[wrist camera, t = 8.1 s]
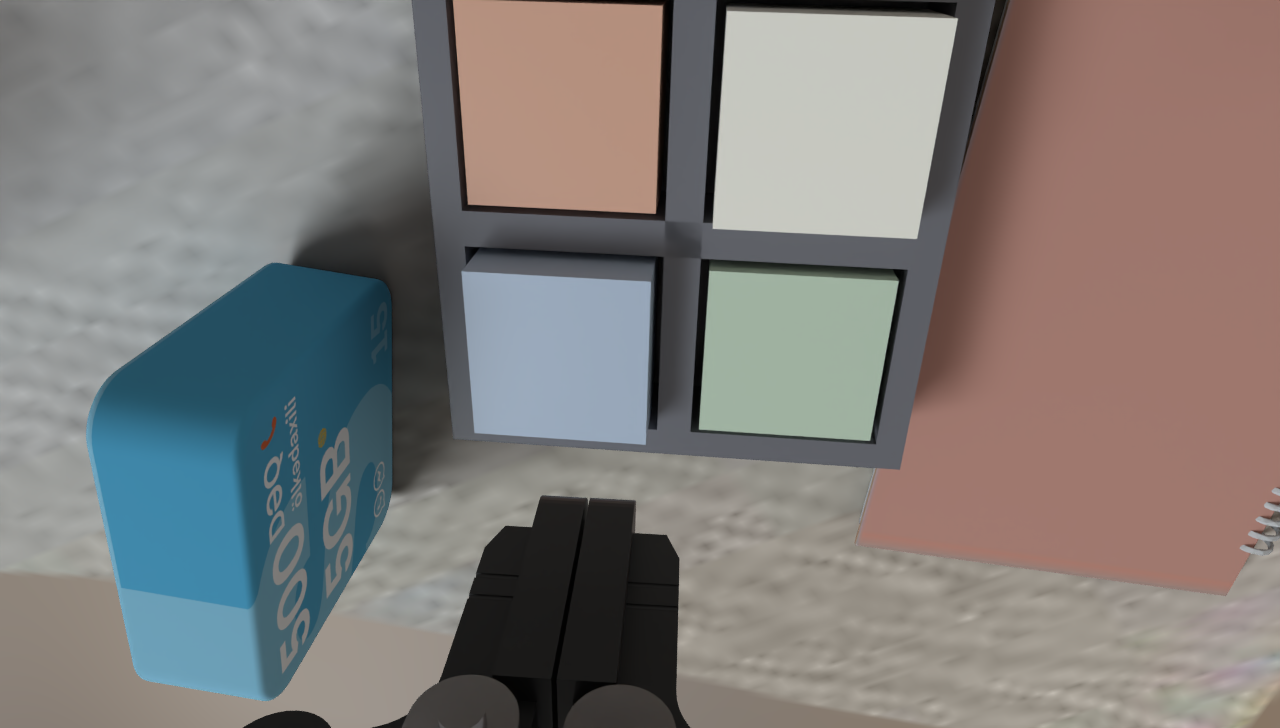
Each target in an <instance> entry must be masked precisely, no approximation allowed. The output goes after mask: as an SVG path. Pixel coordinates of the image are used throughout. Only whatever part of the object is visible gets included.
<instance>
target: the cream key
mask: <svg viewBox="0 0 1280 728" xmlns="http://www.w3.org/2000/svg"><path fill="white" fill-rule="evenodd" d="M957 21H958V18H955V17H952V16H949V15H945V14H942V13H939V12H936V11H933V10H930V9H912V8H881V7H849V6H817V5H785V4H754V3H726V18H725V33H724V48H723V63H722V79H721V94H720V109H719V124H718V139H717V154H716V170H715V185H714V203H713V229H726V230H746V231H766V232H786V233H806V234H825V235H845V236H865V237H885V238H905V239H917V236H918V231H919V226H920V220H921V215H922V210H923V204H924V199H925V193H926V188H927V183H928V177H929V172H930V167H931V161H932V156H933V150H934V145H935V140H936V134H937V129H938V124H939V118H940V113H941V107H942V102H943V97H944V91H945V86H946V81H947V75H948V70H949V64H950V59H951V54H952V48H953V43H954V38H955V32H956V27H957Z"/></svg>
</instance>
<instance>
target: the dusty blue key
mask: <svg viewBox="0 0 1280 728" xmlns="http://www.w3.org/2000/svg"><path fill="white" fill-rule="evenodd" d="M461 272H462V285H463V297H464V309H465V322H466V334H467V347H468V359H469V371H470V384H471V396H472V408H473V421H474V433H481V434H496V435H511V436H525V437H540V438H555V439H569V440H584V441H598V442H613V443H628V444H642V445H646V440H647V433H648V426H649V420H650V413H651V407H652V400H653V388H654V360H655V332H656V304H657V276H658V256H639V255H620V254H601V253H582V252H563V251H545V250H526V249H507V248H488V247H480V249H479V250H478V251H477V252H476V254H475V255H474V256H473V257H472V259H471V260H470V261H469V262H468V264H467V265H466V266H465V268H464V269H463V270H462V271H461Z"/></svg>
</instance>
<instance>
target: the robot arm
mask: <svg viewBox="0 0 1280 728" xmlns="http://www.w3.org/2000/svg"><path fill="white" fill-rule="evenodd" d="M635 515H636V501H634V500H616V499H599V498H590V501H589V505H588V500H587V498H578V497H561V496H543V495H542V496H541V498H540V500H539V504H538V507H537V511H536V515H535V518H534V522H533V526H532V527H517V526H505V527H504V528H503V529H502V530H501V531H500V532H499V533H498V534H497V535H496V536H495V537H494V538H493V539H492V540H491V541H490V543H489V544H488V545H487V546H486V547H485V549H484V552H483V554H482V557H481V560H480V563H479V566H478V569H477V572H476V578H474V581H473V584H472V587H471V590H470V593H469V599H467V602H466V605H465V608H464V611H463V614H462V617H461V620H460V623H459V626H458V629H457V631H456V634H455V637H454V640H453V643H452V646H451V649H450V652H449V655H448V658H447V662H446V664H445V667H444V670H443V673H442V676H441V678H440V681H439V683H437V684H435V685H434V686H432V687H431V688H429V689H428V690H426V691H425V692H424V693H423V694H422V695H421V696H420V697H419V698H418V699H417V701H416V702H415V703H414V704H413V706H412V707H411V709H410V711H409V713H408V714H407V715H406V716H404V717H402V718H400V719H398V720H396V721H393V722H391V723H388V724H384V725H381V726H377V727H373V728H690V727H689V726H688V724H687V723H686V721H685V720H684V718H683V716H682V714H681V712H680V710H679V707H678V703H677V696H676V678H677V637H678V595H679V557H678V555H677V553H676V552H675V550H674V548H673V546H672V544H671V542H670V541H669V539H668V537H667V535H656V534H639V533H635ZM243 728H331V727H330V725H329V724H328V723H327V722H326V721H325V720H324V719H322V718H321V717H319V716H317V715H315V714H312V713H309V712H304V711H284V712H278V713H274V714H271V715H267V716H264V717H262V718H260V719H258V720H255V721H253V722H252V723H250V724H248V725H246V726H245V727H243Z"/></svg>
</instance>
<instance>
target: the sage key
mask: <svg viewBox="0 0 1280 728" xmlns="http://www.w3.org/2000/svg"><path fill="white" fill-rule="evenodd" d="M898 282H899V281H898V279H897V277H896V275H895V273H894V271H893V269H886V268H867V267H848V266H829V265H810V264H791V263H772V262H753V261H734V260H715V259H709V271H708V286H707V301H706V316H705V332H704V347H703V362H702V377H701V396H700V418H699V430H714V431H729V432H744V433H759V434H774V435H789V436H804V437H819V438H834V439H849V440H864V441H870V438H871V433H872V427H873V421H874V416H875V410H876V405H877V399H878V394H879V388H880V383H881V377H882V371H883V366H884V360H885V355H886V349H887V344H888V338H889V332H890V327H891V321H892V316H893V310H894V305H895V299H896V293H897V288H898Z"/></svg>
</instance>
